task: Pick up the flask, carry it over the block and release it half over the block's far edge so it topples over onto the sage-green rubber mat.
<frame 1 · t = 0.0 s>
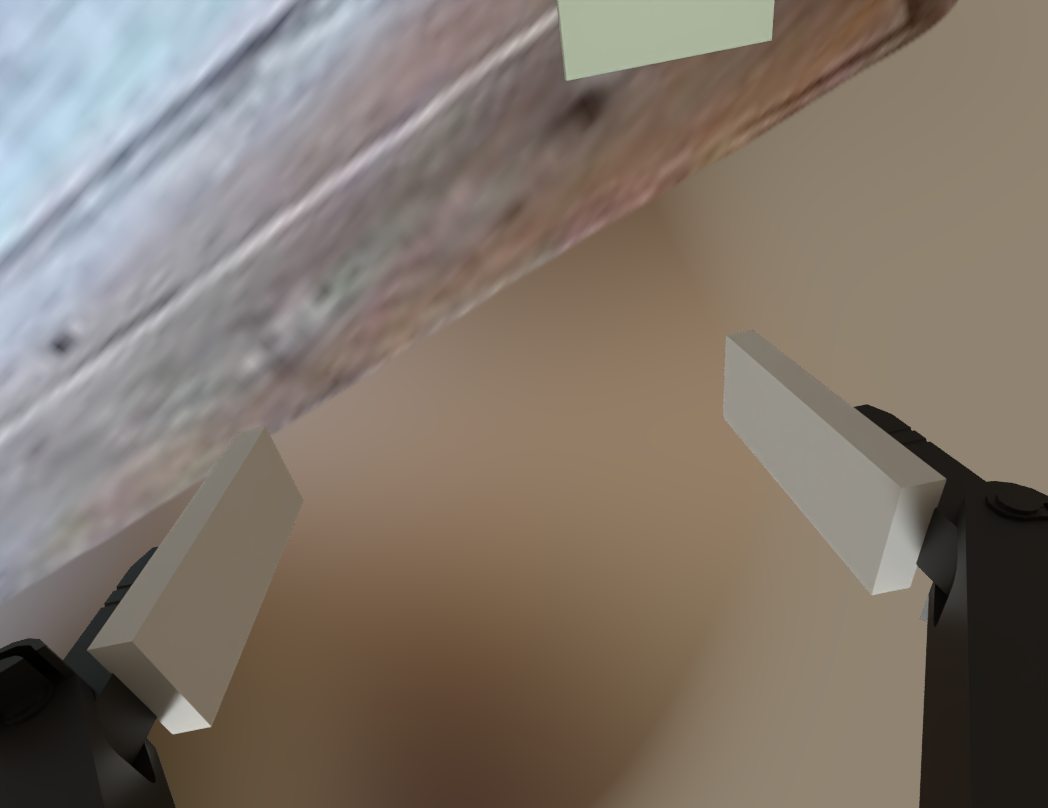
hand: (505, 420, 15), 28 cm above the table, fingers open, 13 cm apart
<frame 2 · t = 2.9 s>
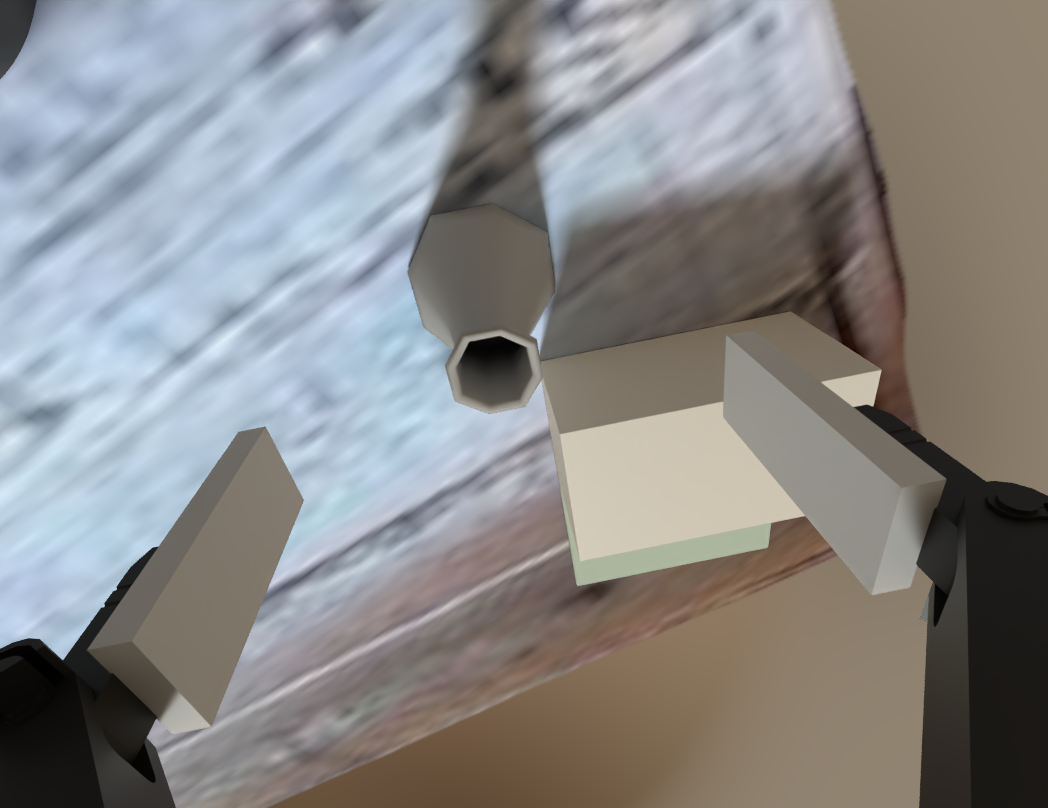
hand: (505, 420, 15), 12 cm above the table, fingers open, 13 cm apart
mat: (668, 510, 34), on the table
flask: (482, 278, 25), on the table
block: (666, 398, 30), on the table
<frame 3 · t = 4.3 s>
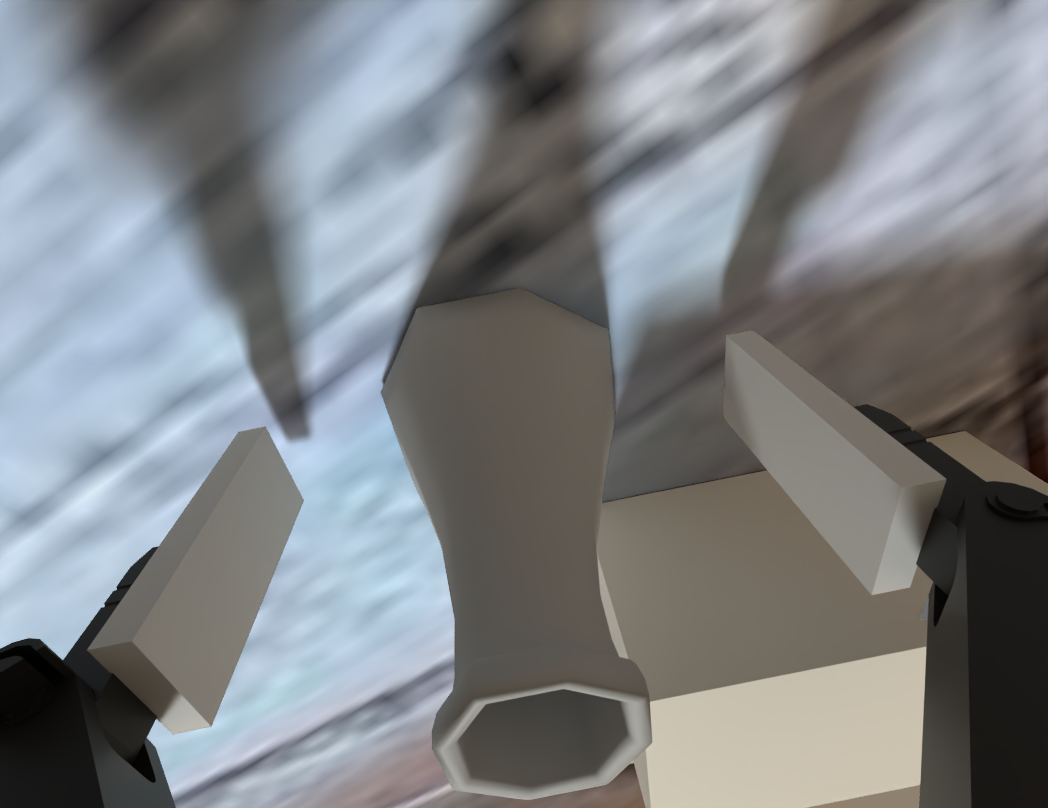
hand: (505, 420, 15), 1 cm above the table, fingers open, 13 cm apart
flask: (501, 395, 16), on the table
block: (765, 546, 20), on the table
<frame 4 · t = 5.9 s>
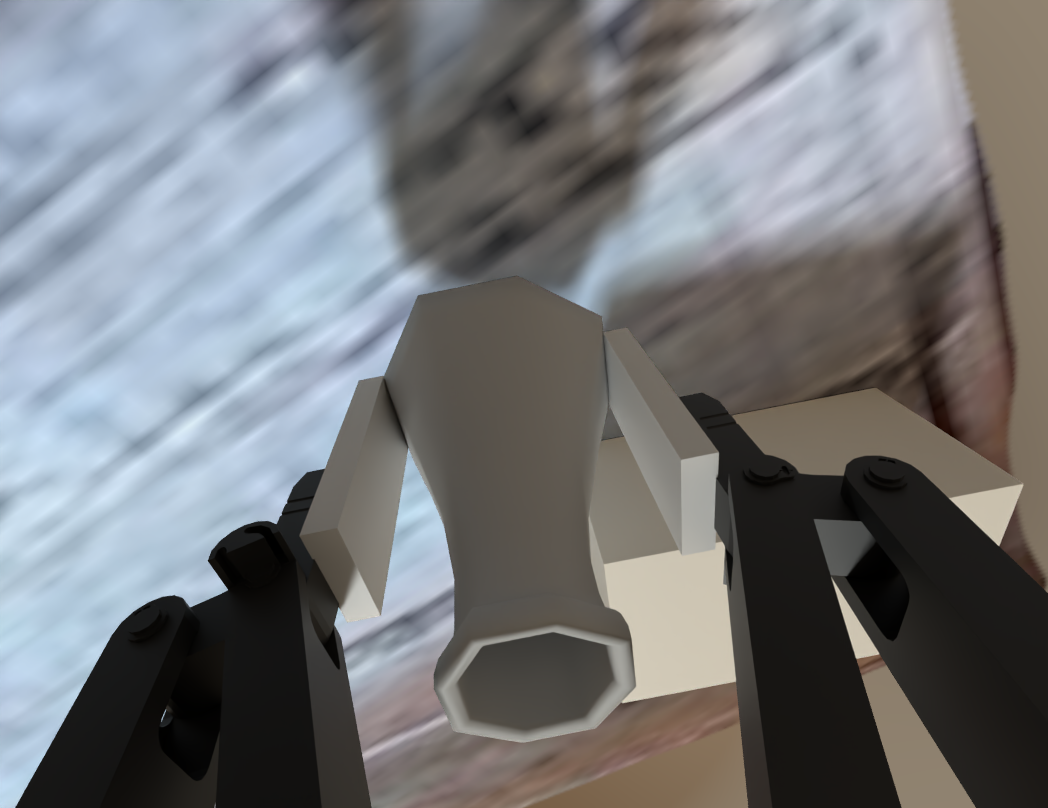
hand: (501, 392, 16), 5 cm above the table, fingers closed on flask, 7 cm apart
flask: (499, 380, 17), point 4 cm above the table, touching gripper
block: (720, 486, 25), on the table
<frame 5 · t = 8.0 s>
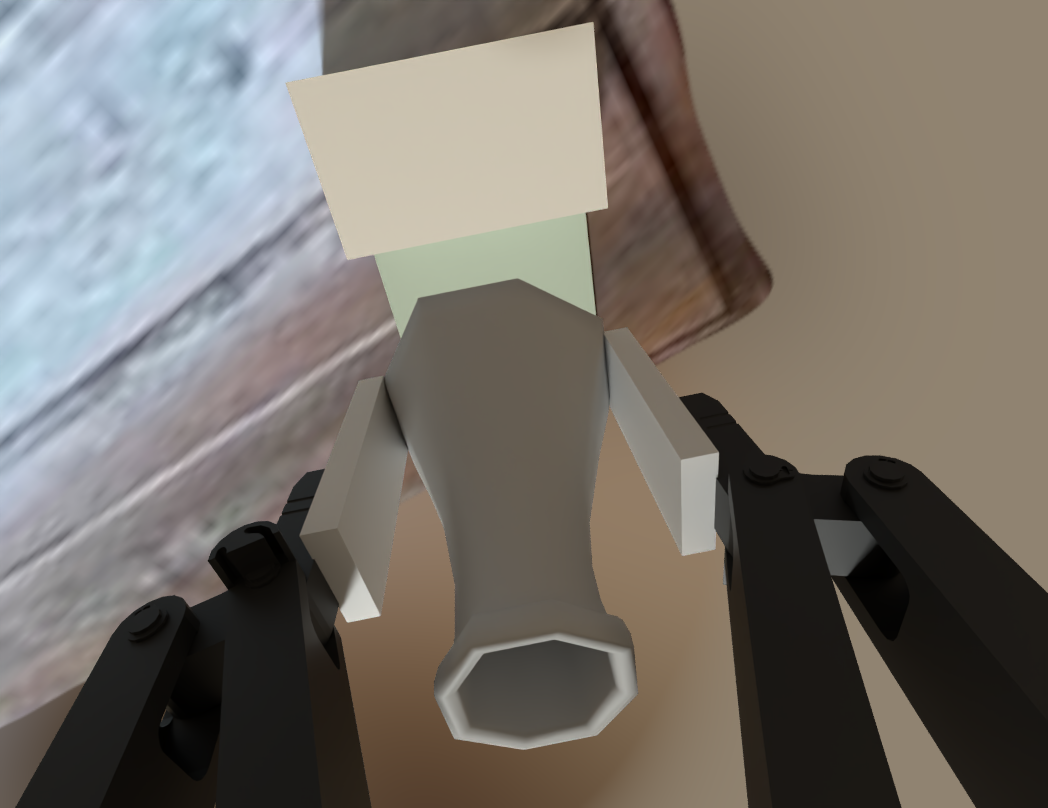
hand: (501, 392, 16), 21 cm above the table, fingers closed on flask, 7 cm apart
mat: (490, 285, 35), on the table
flask: (500, 383, 16), point 20 cm above the table, touching gripper
block: (460, 141, 31), on the table
when the fingers open (9 cm above the table, at t = 10.0 s): flask drops 4 cm, resting on mat.
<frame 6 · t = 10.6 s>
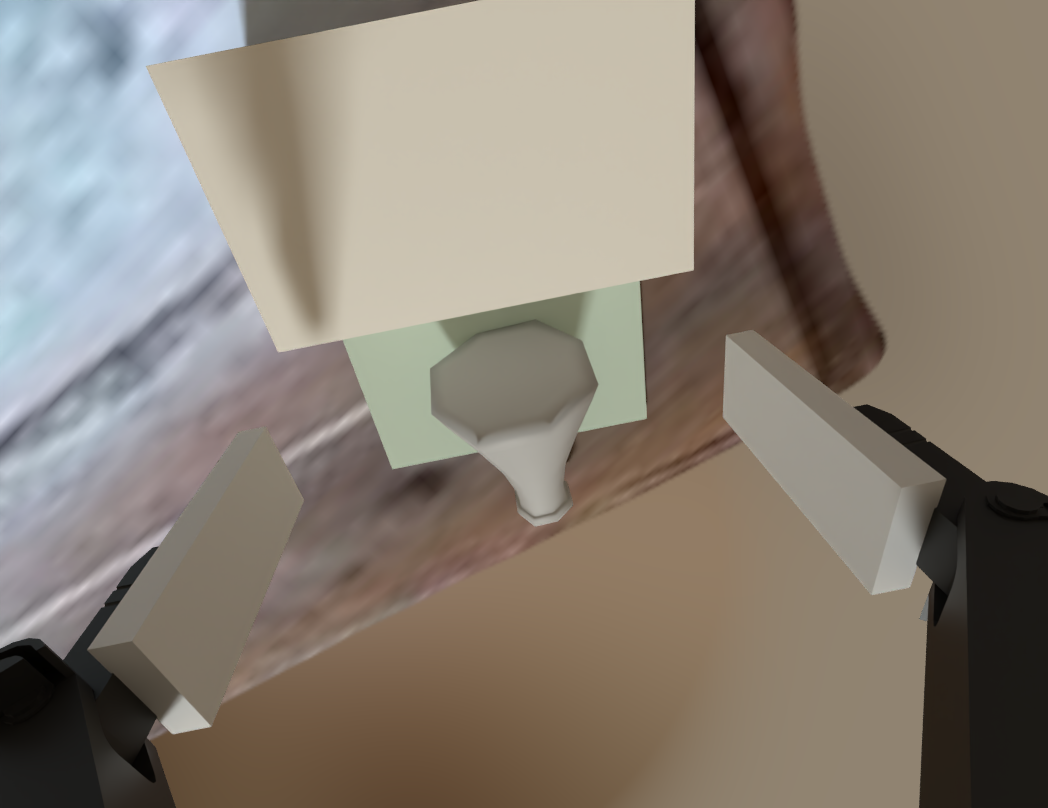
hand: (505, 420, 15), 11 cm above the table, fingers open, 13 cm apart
mat: (501, 356, 25), on the table
flask: (506, 367, 21), point 4 cm above the table, touching mat
block: (459, 160, 21), on the table
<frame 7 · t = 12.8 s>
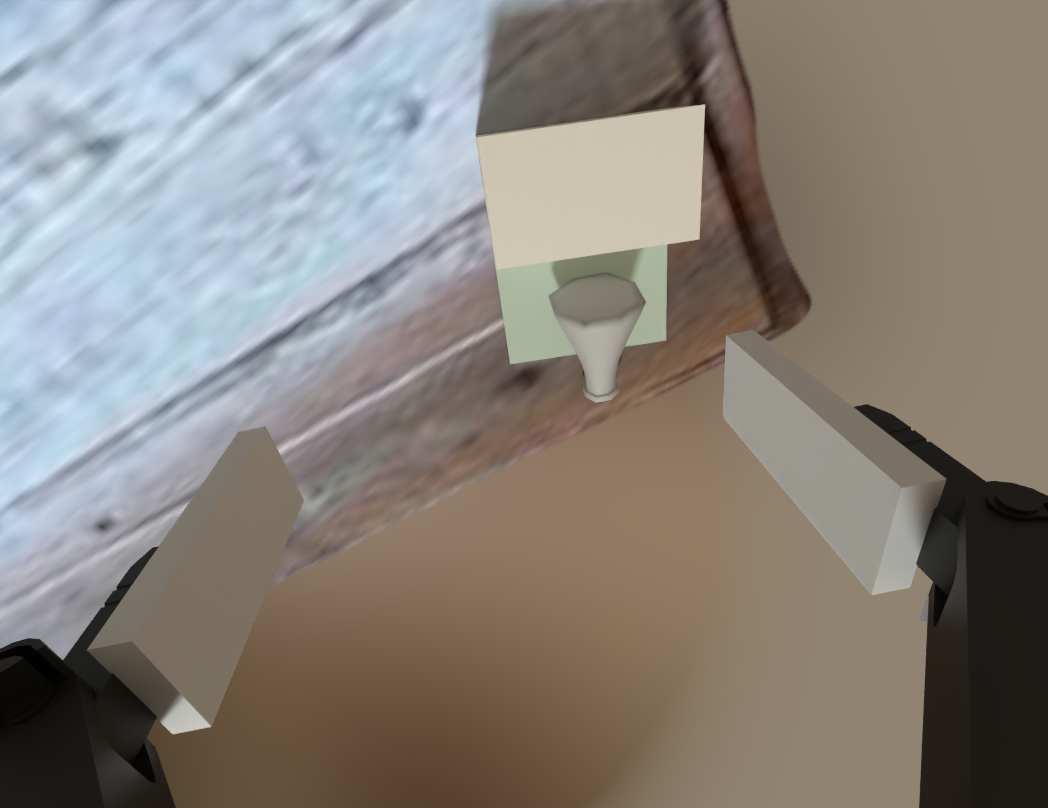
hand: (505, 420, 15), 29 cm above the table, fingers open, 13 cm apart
mat: (583, 295, 43), on the table
flask: (595, 293, 39), point 4 cm above the table, touching mat
block: (575, 181, 39), on the table
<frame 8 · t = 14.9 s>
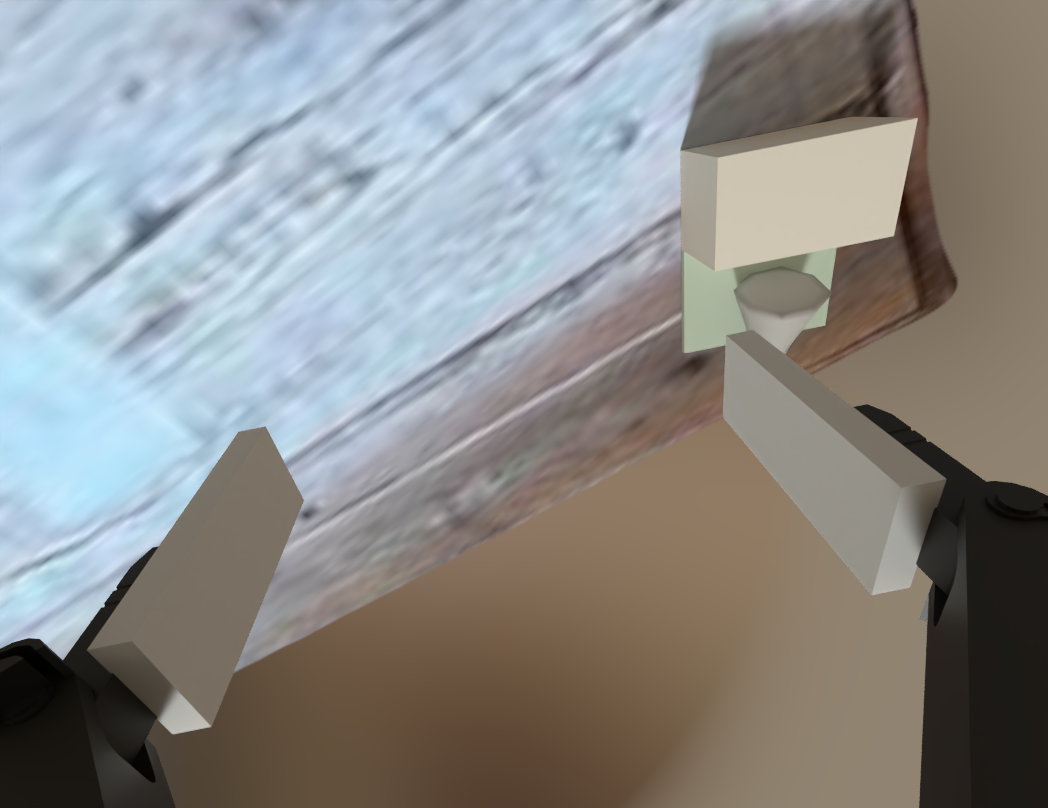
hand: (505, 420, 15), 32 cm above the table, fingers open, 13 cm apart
mat: (755, 288, 48), on the table
flask: (782, 287, 43), point 4 cm above the table, touching mat
block: (762, 186, 43), on the table
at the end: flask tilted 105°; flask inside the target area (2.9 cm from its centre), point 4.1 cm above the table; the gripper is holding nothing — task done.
